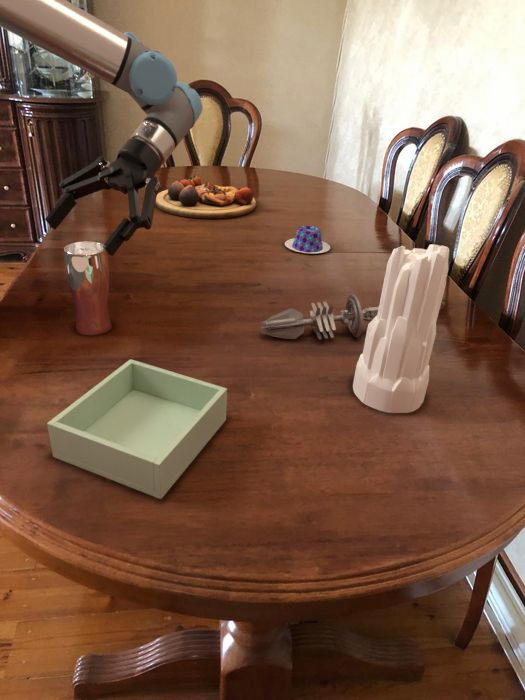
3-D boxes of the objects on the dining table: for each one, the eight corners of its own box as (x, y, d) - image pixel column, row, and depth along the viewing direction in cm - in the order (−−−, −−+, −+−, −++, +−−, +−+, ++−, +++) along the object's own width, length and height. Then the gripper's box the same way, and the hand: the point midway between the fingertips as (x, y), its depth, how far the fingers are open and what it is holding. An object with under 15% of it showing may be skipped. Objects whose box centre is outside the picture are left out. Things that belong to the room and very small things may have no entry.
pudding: (339, 252, 136) (342, 232, 134) (301, 258, 131) (303, 238, 128) (311, 238, 145) (314, 219, 142) (275, 243, 139) (277, 224, 137)
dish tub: (53, 458, 65) (46, 423, 62) (132, 390, 78) (130, 358, 76) (161, 500, 60) (159, 464, 57) (226, 420, 73) (227, 388, 71)
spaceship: (460, 306, 93) (443, 274, 97) (266, 331, 88) (257, 296, 92) (446, 333, 99) (430, 302, 104) (264, 358, 94) (256, 325, 99)
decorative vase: (341, 379, 84) (366, 227, 72) (398, 370, 88) (431, 223, 75) (376, 420, 76) (411, 255, 63) (437, 408, 79) (483, 249, 66)
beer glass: (120, 322, 96) (114, 243, 89) (102, 340, 90) (93, 257, 83) (86, 316, 97) (76, 238, 90) (65, 333, 92) (53, 251, 84)
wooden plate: (274, 205, 172) (276, 179, 168) (218, 227, 148) (218, 198, 144) (196, 187, 185) (196, 163, 181) (132, 205, 161) (131, 178, 157)
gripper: (87, 118, 99) (16, 200, 93) (194, 157, 92) (125, 250, 86) (103, 147, 106) (38, 226, 100) (204, 186, 98) (141, 274, 92)
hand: (78, 237), depth 93 cm, fingers open, 13 cm apart
